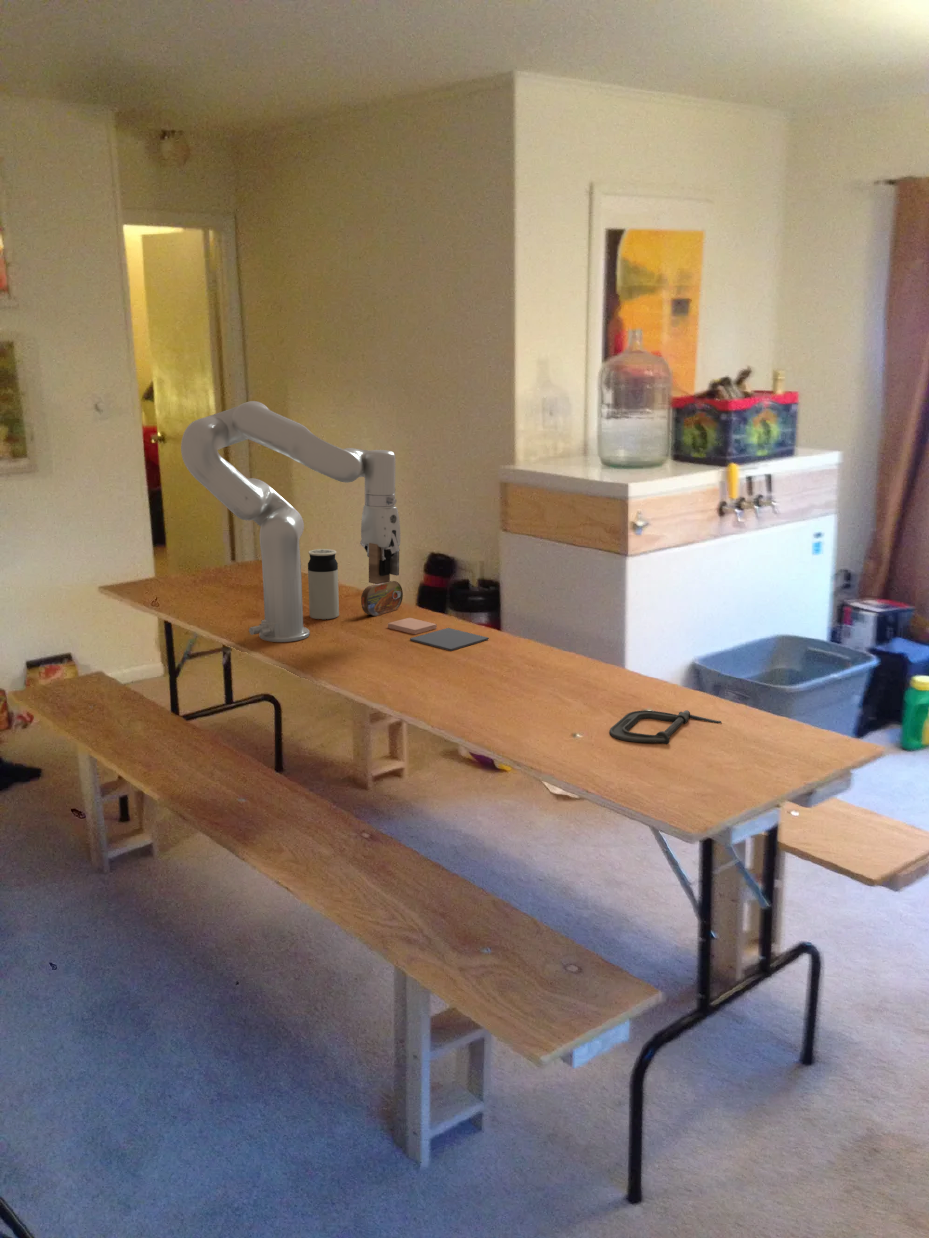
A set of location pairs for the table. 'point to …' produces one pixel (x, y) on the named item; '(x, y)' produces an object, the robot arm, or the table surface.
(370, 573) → the brown grey block
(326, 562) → the travel mug
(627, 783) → the table surface
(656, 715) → the c clamp
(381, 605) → the tin
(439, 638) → the mat
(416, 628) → the tile
